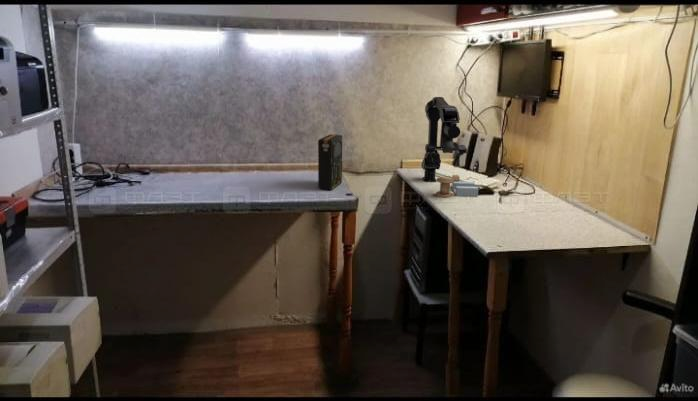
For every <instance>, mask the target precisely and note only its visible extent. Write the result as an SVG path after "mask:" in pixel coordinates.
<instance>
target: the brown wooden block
mask: <svg viewBox="0 0 698 401" xmlns="http://www.w3.org/2000/svg"><path fill="white" fill-rule="evenodd" d="M452 179H454V182H460V176H459V174H452ZM452 187H453V183H451V188H452Z"/></svg>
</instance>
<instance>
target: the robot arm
mask: <svg viewBox="0 0 698 401" xmlns="http://www.w3.org/2000/svg"><path fill="white" fill-rule="evenodd" d="M424 107H425V108H424V111H425V117H426V118H427V120H428V133H427V134H428V137H427V138H428V140H427V143H426V144H425V145H424V147H425V148H424V150H425V152H424V157H423V159H422V161H421V165H420V166H421V169H422V170H423V171H424V174H423V175H424V176H423V177H422V179H423V180H422V181H424V182H437V179H436V172H437V170H440V168H441V163H442V160H441V154H440V153H439V151H442V153H443V154H453V153H454V159H453V168H455V167H456V164H457V163H458V160H459V159H460V158H461V156H463V155H464V154H467V153H468V148H467V147H466V146H465V144H459V142H457V141H454V139H457V138H459V136H460V134H461V129H460V127H459V126H458V124H459V123H460V118H461V117H460V113H459V111H458V108H457V107H456V106H455V105H452V104H451V105H450V104H449V103H448V102H447V101H446V100H445V98H444V97H443V96H433V97H432V99H431V100H429V101H428V102H427V103H426V104H425V106H424ZM439 121H441V128H440V140H439V146H438V131H439V130H438V129H439V128H438V127H439Z"/></svg>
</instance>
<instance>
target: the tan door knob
mask: <svg viewBox="0 0 698 401" xmlns="http://www.w3.org/2000/svg"><path fill="white" fill-rule="evenodd" d="M436 180H437V181H436V182H437V183H440V185H439V186H440V187H439V190H437V191H436V192H435V195H436V197H438V198H452V197H453V196H454V192H452V191H450V186H451V184H452V183H453V182H454V179H452V178H451V177H446V176H445V177H443V176H442V177H438V178H437V179H436Z"/></svg>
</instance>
